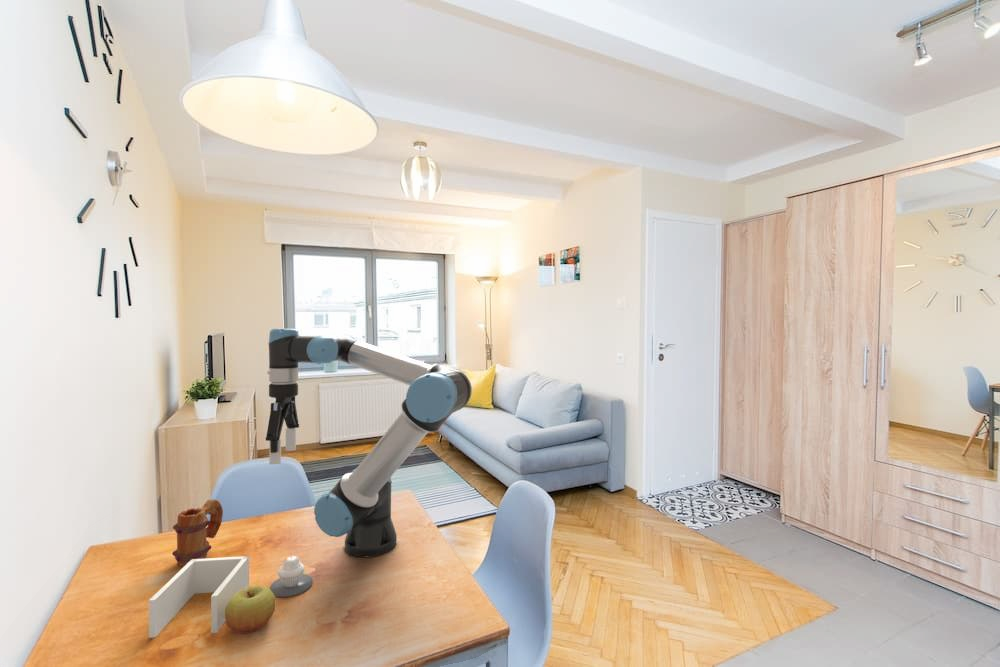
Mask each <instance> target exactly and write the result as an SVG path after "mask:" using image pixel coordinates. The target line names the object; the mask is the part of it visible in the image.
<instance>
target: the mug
mask: <svg viewBox="0 0 1000 667" xmlns="http://www.w3.org/2000/svg"><path fill="white" fill-rule="evenodd" d="M223 514H224V510H223V507H222V504H221V502H220V501H219V500H217V499H212V498H210V499H208V500H206V502H205V503H204V505H203V506H201V507H198V508H188V509H186V510H184V511H181V512H180V513H179V514H178V515H177V523H176V524H174V525H173V526H172V529H173V530H174V531H175V533H176V545H177V546H176V549H175V550H174V551H172V555H173V556H174V559H175V560H176V562H177V566H180V567H184V566H185V565H186V564H187V563H188V562H189V561H190V560H192V559H206V558H207V557H208V552H209V551H210V550H211V549H212V545H210V542H209V541H208V540H207V538H208V539H214V538H216V536H217V533H218V531H219V530H220V527H221V525H222V521H223ZM207 515H209V516H210V517H209V518H208V517H207Z"/></svg>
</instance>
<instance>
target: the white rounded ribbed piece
mask: <svg viewBox="0 0 1000 667" xmlns="http://www.w3.org/2000/svg"><path fill="white" fill-rule="evenodd" d="M304 572H305V565H304V564H303V563H302V562H301V561H300V559H299V557H298V556H295V555H294V556H293V555H292V556H288V557H286V559H284V561H283V564H282V566H280V567H279V569H278V571H277V575H278V579H279V578H280V580H281V581H282V583H283V584H284V586H285V587H294V586H296V585H297V584H298V583H299V581H300V579H301V577H302V575H303V574H304Z"/></svg>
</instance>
